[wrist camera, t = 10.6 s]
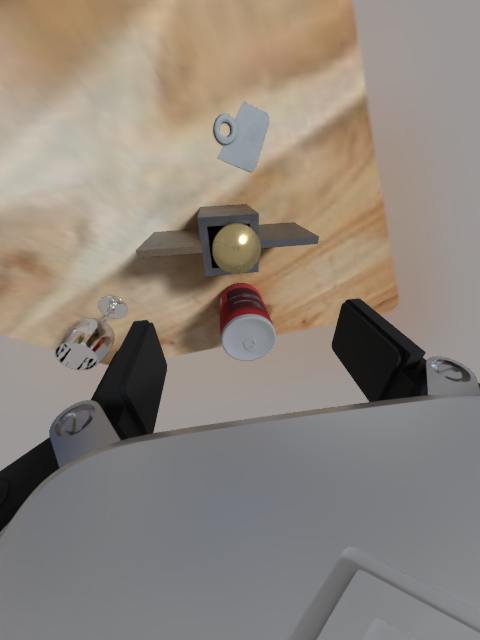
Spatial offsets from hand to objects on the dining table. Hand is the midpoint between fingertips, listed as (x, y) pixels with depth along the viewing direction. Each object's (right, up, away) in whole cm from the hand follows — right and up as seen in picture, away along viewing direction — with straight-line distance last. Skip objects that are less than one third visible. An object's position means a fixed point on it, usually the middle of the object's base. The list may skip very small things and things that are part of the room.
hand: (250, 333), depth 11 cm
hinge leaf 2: (+1, +14, +21) cm, 25 cm away
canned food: (0, +4, +28) cm, 28 cm away
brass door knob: (-2, +14, +21) cm, 25 cm away
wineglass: (-22, +3, +26) cm, 34 cm away
